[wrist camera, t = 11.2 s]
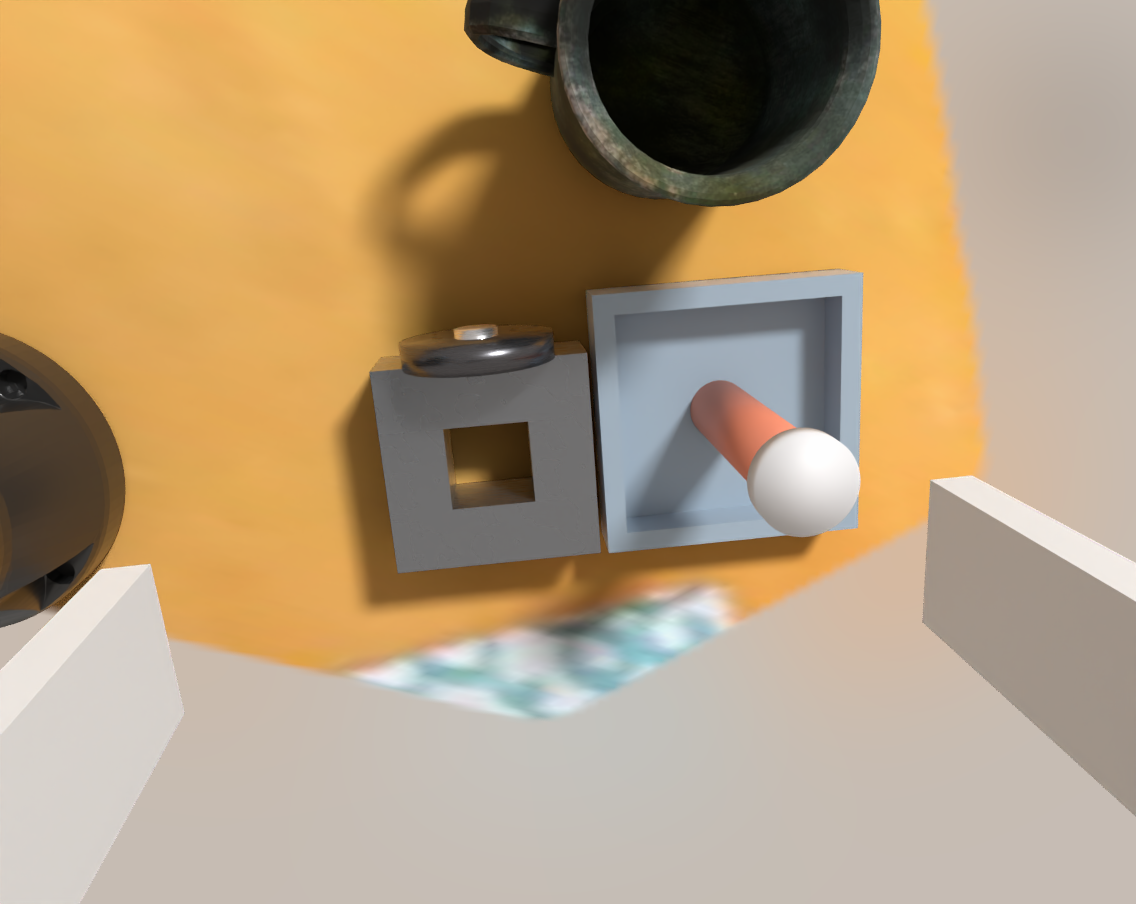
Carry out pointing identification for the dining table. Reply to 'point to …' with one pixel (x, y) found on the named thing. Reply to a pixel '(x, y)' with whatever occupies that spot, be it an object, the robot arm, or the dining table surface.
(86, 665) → the robot arm
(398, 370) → the block
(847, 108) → the mug
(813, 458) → the pin
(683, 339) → the tray
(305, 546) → the dining table surface
